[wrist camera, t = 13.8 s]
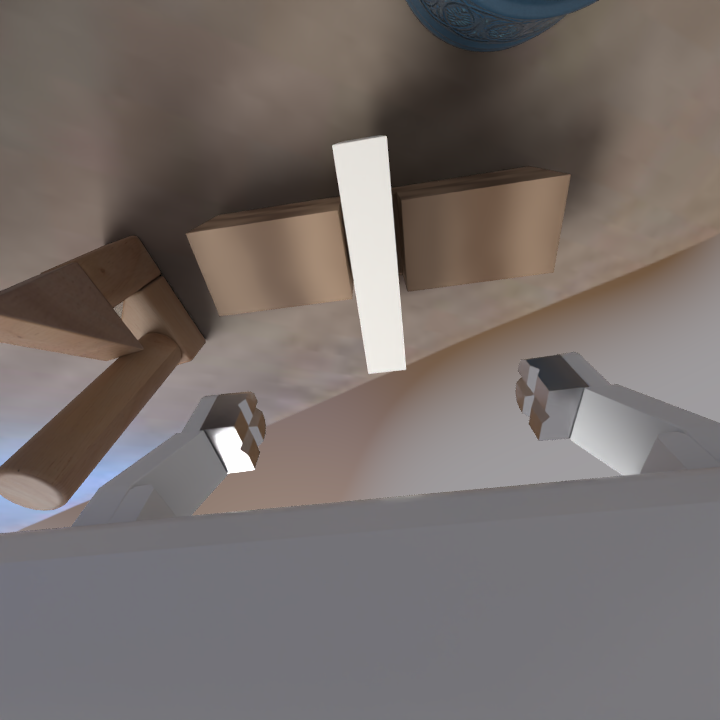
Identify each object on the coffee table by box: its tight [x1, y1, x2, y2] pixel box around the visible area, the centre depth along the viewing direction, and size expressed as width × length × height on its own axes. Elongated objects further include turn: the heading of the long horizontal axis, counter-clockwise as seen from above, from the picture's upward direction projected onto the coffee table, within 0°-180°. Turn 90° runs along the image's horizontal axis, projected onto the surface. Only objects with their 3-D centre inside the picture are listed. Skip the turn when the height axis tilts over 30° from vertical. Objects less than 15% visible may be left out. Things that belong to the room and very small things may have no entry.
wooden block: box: [0, 236, 205, 510], centre depth 24 cm, size 4×11×18 cm, turn 17°
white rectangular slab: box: [332, 135, 406, 374], centre depth 22 cm, size 13×2×8 cm, turn 8°
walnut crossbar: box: [186, 166, 571, 316], centre depth 25 cm, size 24×6×6 cm, turn 98°
